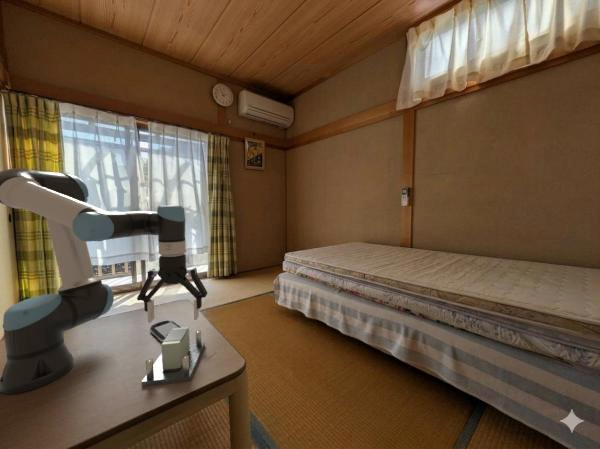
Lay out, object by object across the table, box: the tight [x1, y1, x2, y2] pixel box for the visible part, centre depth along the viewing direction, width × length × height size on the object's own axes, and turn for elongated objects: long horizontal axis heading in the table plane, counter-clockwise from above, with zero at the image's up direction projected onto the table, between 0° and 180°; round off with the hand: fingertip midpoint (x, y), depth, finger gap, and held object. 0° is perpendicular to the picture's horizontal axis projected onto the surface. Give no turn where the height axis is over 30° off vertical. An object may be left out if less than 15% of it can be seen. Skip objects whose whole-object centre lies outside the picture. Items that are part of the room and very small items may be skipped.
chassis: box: [141, 330, 206, 387], centre depth 77 cm, size 13×18×6 cm
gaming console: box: [149, 320, 181, 344], centre depth 96 cm, size 19×9×2 cm, turn 49°
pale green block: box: [160, 326, 191, 370], centre depth 77 cm, size 5×10×8 cm, turn 9°
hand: (174, 319), depth 76 cm, fingers open, 13 cm apart
